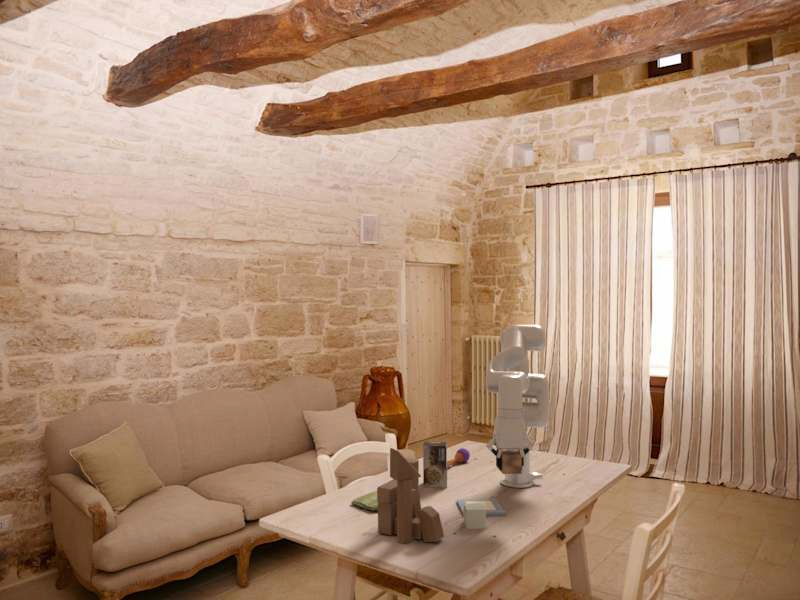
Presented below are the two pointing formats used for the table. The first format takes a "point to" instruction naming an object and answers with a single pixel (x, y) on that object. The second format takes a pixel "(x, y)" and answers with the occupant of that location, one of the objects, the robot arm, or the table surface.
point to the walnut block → (511, 462)
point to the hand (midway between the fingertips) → (509, 468)
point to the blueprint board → (489, 504)
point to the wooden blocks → (406, 504)
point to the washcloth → (367, 501)
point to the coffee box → (435, 464)
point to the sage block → (474, 516)
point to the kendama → (459, 457)
